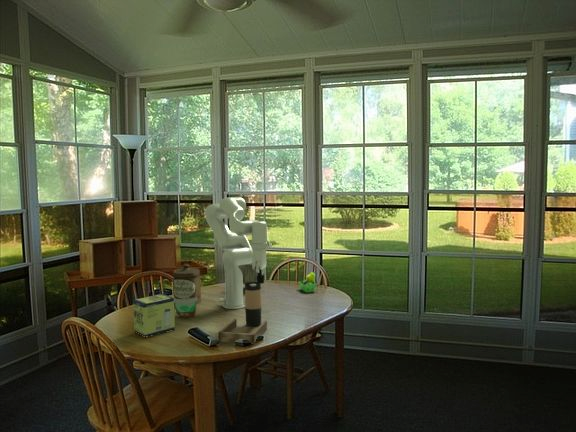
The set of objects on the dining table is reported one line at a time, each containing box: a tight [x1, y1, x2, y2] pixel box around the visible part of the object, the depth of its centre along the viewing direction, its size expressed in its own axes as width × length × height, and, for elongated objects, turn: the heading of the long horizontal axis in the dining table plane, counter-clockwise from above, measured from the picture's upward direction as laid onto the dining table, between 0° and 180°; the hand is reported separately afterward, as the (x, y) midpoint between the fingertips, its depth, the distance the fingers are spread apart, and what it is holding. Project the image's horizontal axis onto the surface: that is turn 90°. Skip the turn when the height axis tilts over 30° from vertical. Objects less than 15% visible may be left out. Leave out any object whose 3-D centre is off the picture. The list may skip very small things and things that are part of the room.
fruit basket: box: [298, 271, 317, 293], centre depth 293 cm, size 11×9×11 cm
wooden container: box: [172, 263, 202, 305], centre depth 269 cm, size 15×15×22 cm
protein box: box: [132, 293, 176, 337], centre depth 220 cm, size 10×16×16 cm
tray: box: [217, 318, 268, 345], centre depth 213 cm, size 16×20×4 cm
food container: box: [173, 296, 198, 320], centre depth 241 cm, size 12×6×10 cm, turn 105°
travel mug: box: [244, 282, 262, 328], centre depth 227 cm, size 8×8×20 cm
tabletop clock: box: [238, 263, 257, 285], centre depth 297 cm, size 14×9×25 cm, turn 58°
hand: (260, 282), depth 238 cm, fingers closed
